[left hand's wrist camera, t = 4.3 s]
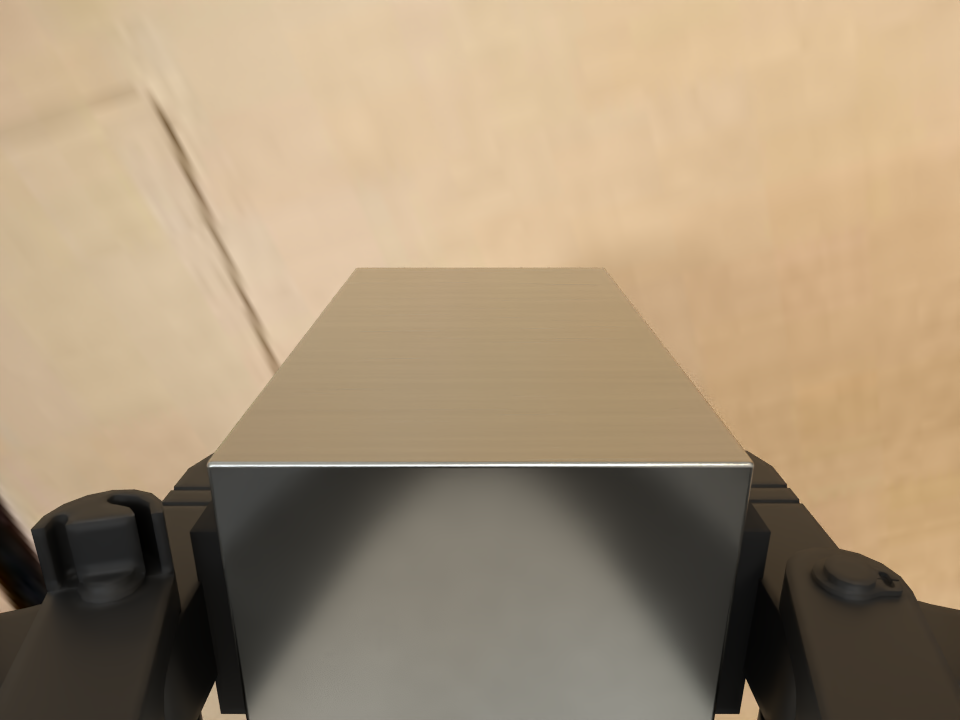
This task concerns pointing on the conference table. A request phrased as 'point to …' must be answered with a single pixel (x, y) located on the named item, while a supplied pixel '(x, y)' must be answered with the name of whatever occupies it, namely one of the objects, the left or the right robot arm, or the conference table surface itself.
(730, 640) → the left robot arm
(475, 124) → the conference table surface
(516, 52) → the conference table surface
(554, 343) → the brick
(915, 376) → the conference table surface
